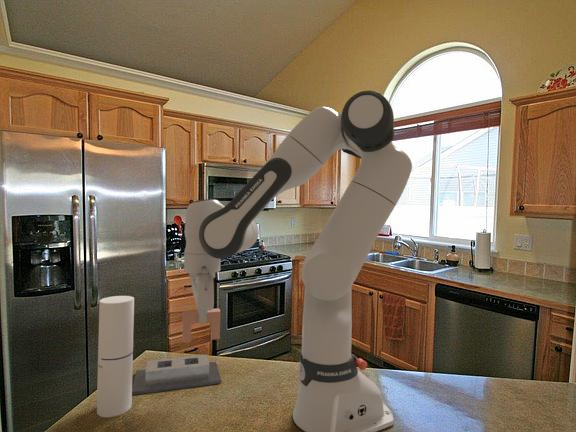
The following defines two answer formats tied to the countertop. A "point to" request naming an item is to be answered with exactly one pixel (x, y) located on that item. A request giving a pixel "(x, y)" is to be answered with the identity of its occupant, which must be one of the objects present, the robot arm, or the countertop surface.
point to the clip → (193, 318)
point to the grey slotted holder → (176, 374)
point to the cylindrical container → (115, 355)
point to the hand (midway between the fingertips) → (201, 319)
